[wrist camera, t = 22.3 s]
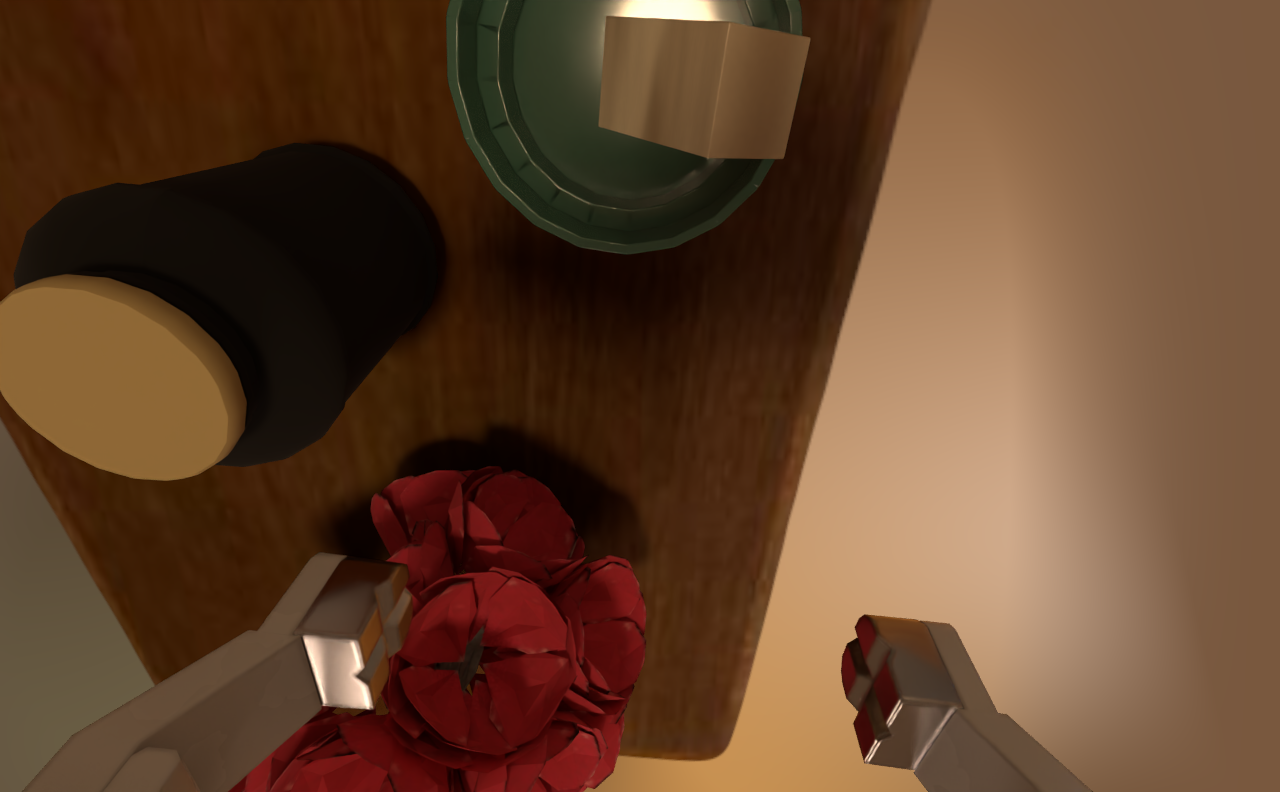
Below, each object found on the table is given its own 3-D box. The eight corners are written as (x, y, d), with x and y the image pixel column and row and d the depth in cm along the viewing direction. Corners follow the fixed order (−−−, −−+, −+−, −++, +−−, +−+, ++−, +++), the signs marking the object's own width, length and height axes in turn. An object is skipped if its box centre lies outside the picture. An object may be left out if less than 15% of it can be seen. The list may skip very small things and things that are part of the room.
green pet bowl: (769, -152, 25) (797, -208, 20) (784, 200, 32) (807, 227, 27) (444, -76, 27) (391, -109, 21) (529, 242, 34) (504, 274, 29)
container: (496, 261, 35) (357, 421, 19) (374, 369, 39) (179, 573, 23) (331, 85, 30) (-26, 106, 15) (213, 228, 34) (-162, 363, 19)
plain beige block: (682, 29, 28) (811, 37, 23) (669, 130, 30) (784, 159, 25) (605, 15, 25) (729, 21, 20) (598, 126, 28) (707, 158, 22)
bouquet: (473, 594, 60) (726, 679, 41) (250, 826, 44) (499, 1136, 25) (366, 420, 51) (625, 429, 32) (39, 630, 35) (182, 884, 16)
